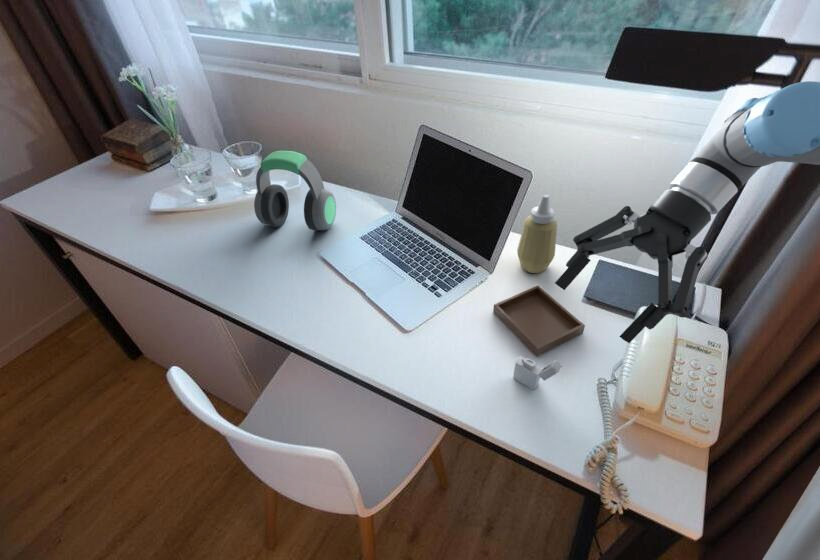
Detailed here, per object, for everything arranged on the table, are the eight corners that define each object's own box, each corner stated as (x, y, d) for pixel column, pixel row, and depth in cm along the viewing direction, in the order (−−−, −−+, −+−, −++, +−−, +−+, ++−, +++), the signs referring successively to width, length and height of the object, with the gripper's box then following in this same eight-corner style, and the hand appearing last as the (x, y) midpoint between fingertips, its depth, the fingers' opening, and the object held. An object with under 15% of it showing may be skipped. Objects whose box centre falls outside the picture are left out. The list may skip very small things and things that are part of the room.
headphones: (258, 233, 113) (234, 162, 100) (277, 211, 121) (256, 143, 108) (326, 240, 109) (310, 167, 96) (340, 216, 117) (327, 146, 104)
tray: (582, 333, 82) (585, 325, 81) (536, 357, 78) (538, 349, 77) (536, 293, 91) (538, 285, 89) (492, 312, 87) (493, 304, 86)
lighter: (512, 377, 75) (517, 348, 70) (517, 371, 76) (523, 341, 71) (549, 399, 72) (558, 370, 66) (554, 393, 73) (563, 363, 67)
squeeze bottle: (520, 278, 95) (531, 208, 83) (511, 256, 101) (520, 187, 89) (557, 275, 95) (573, 204, 83) (545, 253, 101) (558, 184, 89)
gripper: (780, 255, 57) (663, 370, 62) (628, 179, 74) (546, 274, 79) (776, 235, 52) (649, 362, 57) (614, 157, 69) (527, 261, 74)
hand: (589, 311), depth 68 cm, fingers open, 13 cm apart
